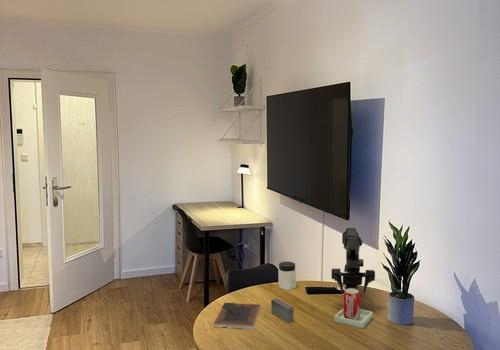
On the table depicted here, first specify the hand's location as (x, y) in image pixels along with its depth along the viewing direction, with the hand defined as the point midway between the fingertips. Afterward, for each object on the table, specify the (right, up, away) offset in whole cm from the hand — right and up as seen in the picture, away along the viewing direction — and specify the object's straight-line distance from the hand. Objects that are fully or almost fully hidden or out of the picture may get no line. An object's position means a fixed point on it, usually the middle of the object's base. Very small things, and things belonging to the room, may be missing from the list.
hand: (353, 292), depth 198 cm
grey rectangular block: (-31, -10, -1) cm, 32 cm away
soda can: (-2, -10, -5) cm, 11 cm away
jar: (-26, -6, +34) cm, 43 cm away
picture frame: (-50, -11, 0) cm, 51 cm away
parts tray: (-1, -10, -5) cm, 11 cm away
